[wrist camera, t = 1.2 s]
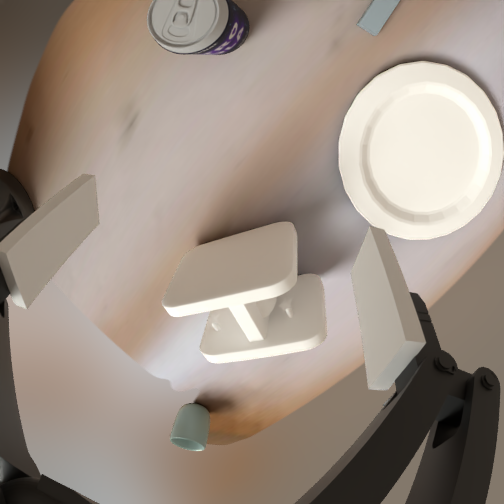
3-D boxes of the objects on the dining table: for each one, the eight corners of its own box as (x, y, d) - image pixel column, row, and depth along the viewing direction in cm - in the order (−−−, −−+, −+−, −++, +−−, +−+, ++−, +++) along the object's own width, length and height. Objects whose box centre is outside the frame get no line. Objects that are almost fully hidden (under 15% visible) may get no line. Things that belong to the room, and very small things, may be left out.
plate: (370, 255, 38) (372, 264, 37) (303, 98, 29) (303, 100, 27) (506, 203, 31) (512, 209, 30) (472, 43, 21) (480, 43, 20)
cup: (199, 397, 63) (190, 437, 55) (219, 413, 67) (212, 451, 58) (173, 400, 66) (162, 437, 58) (193, 415, 69) (184, 450, 61)
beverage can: (187, 49, 26) (133, 49, 17) (201, -1, 23) (153, -26, 13) (241, 60, 27) (213, 61, 17) (257, 9, 24) (237, -18, 14)
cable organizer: (300, 211, 36) (301, 276, 26) (324, 280, 41) (329, 351, 31) (186, 245, 40) (155, 308, 31) (221, 303, 45) (203, 369, 36)
